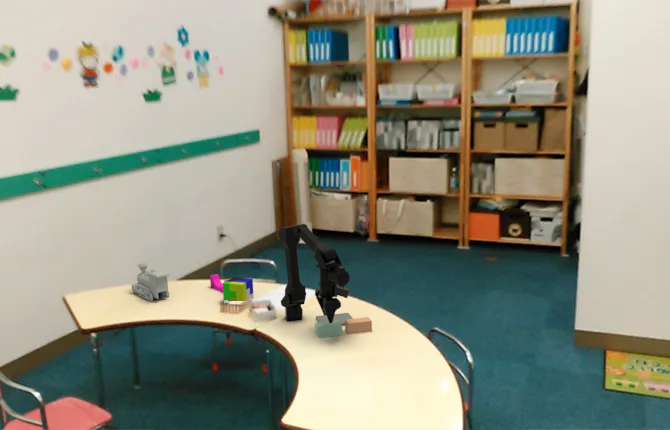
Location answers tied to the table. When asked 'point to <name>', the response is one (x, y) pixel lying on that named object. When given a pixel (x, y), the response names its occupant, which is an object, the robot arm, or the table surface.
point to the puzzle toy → (238, 289)
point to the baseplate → (335, 318)
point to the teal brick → (328, 328)
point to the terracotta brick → (358, 325)
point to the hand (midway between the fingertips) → (328, 319)
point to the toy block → (216, 283)
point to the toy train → (151, 283)
